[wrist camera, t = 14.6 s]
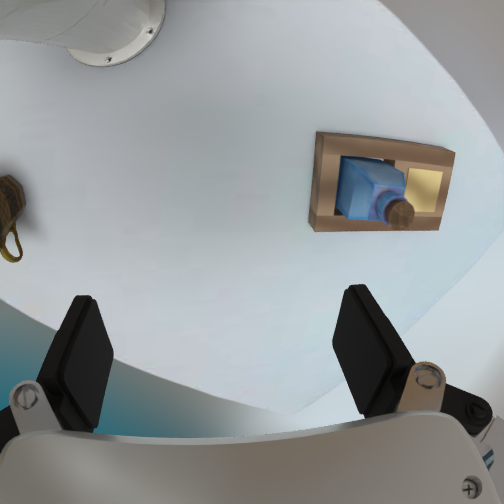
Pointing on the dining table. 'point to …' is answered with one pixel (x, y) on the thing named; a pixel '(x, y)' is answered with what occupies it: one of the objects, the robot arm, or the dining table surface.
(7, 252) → the ceramic cup
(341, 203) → the perfume bottle
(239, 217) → the dining table surface
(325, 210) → the frame
